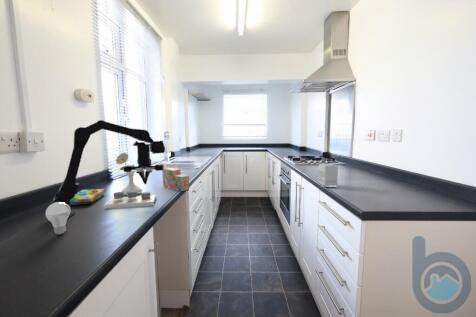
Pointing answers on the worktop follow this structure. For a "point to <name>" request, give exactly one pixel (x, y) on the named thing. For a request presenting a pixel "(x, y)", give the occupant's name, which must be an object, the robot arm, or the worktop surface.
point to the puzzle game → (87, 196)
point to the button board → (130, 202)
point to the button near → (118, 195)
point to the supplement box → (328, 174)
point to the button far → (145, 195)
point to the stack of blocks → (175, 179)
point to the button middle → (132, 194)
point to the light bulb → (58, 216)
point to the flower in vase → (131, 185)
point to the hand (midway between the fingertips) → (145, 183)
